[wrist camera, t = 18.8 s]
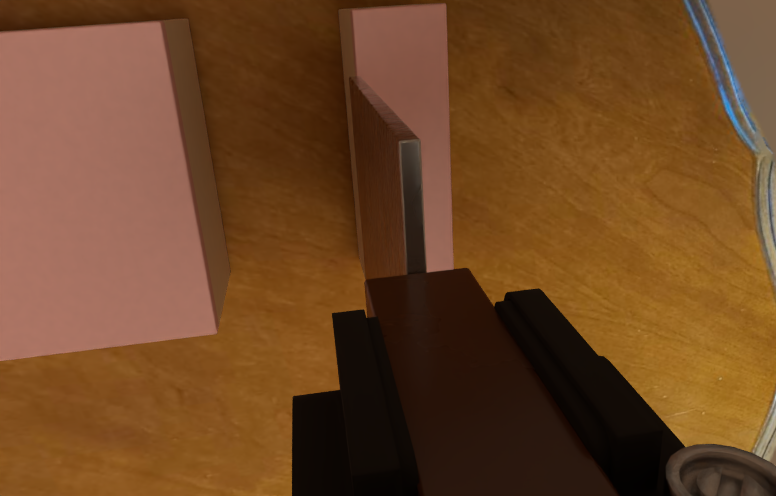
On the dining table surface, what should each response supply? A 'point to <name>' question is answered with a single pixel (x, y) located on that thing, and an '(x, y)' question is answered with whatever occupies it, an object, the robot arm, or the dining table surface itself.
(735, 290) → the dining table surface
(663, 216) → the dining table surface
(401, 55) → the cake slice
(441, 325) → the kitchen knife
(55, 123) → the sponge cake
